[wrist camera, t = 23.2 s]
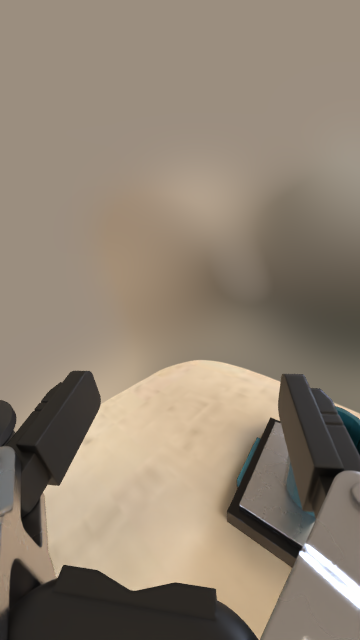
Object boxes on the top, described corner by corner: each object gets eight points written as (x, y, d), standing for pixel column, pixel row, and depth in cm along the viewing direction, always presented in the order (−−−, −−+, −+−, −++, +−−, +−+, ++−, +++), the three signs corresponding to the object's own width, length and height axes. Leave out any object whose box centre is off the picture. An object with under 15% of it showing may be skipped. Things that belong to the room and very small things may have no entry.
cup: (277, 496, 29) (286, 440, 24) (293, 449, 33) (303, 394, 28) (345, 535, 25) (372, 479, 20) (352, 477, 29) (375, 419, 25)
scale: (222, 518, 30) (222, 504, 28) (265, 425, 40) (267, 412, 39) (387, 635, 21) (399, 625, 20) (388, 480, 32) (396, 465, 30)
